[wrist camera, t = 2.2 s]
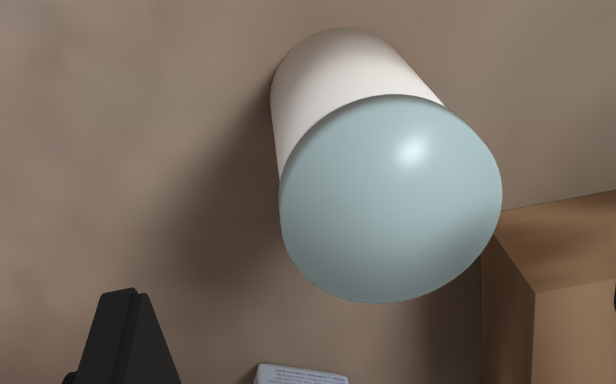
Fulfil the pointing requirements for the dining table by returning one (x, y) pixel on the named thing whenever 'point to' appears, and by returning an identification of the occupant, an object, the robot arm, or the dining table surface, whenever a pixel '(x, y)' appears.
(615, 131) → the dining table surface
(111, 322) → the robot arm
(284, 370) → the medicine box
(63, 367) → the dining table surface
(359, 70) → the pill bottle
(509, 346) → the walnut block
